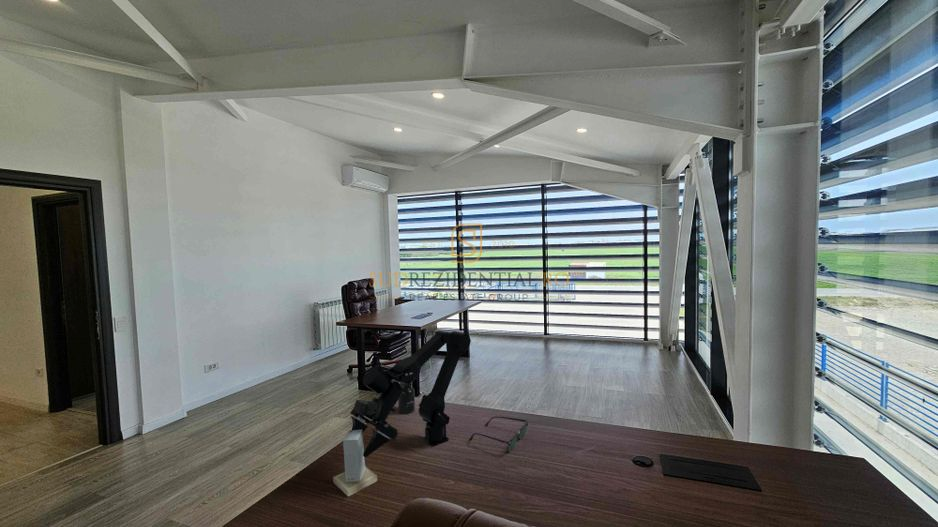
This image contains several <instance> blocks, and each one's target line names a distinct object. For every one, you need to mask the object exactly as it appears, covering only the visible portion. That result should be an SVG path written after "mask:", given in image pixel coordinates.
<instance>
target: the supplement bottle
mask: <svg viewBox="0 0 938 527" xmlns="http://www.w3.org/2000/svg"><path fill="white" fill-rule="evenodd" d="M399 383H400V384H401V385H403V384H404V385H407V390H408V395H406V394H404V393H402V394H401V396H400V397H399V399H398V401H397V404H398V405H397V408H398V413H400V414H402V415H407V414H412V413H413V412H415V409H416V408H415V407H416V405H415V404H416V402H415V401H416V400H415V399H416V396H415V389H414V387H413V382H412V383H410V384H406V383H403V382H399Z"/></svg>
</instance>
